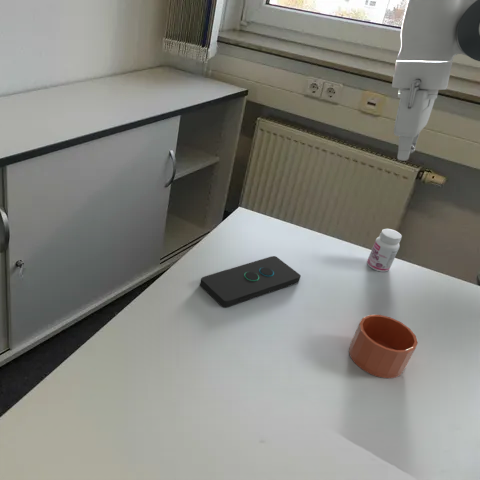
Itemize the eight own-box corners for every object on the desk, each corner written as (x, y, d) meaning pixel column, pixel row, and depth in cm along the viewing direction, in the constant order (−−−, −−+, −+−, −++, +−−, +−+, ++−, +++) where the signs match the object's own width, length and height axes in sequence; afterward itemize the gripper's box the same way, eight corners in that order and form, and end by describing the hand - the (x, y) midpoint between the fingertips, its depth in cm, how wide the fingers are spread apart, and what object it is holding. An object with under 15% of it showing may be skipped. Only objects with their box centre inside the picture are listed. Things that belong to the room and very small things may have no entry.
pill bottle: (362, 263, 118) (375, 231, 113) (373, 257, 120) (387, 225, 116) (381, 275, 115) (396, 242, 110) (393, 268, 117) (408, 235, 113)
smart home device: (303, 276, 109) (226, 301, 100) (300, 282, 110) (224, 309, 101) (274, 254, 115) (199, 276, 106) (272, 260, 116) (197, 283, 107)
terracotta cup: (409, 357, 94) (422, 331, 91) (396, 387, 88) (410, 360, 85) (357, 332, 98) (368, 307, 95) (341, 359, 92) (352, 333, 89)
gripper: (436, 81, 86) (419, 166, 91) (444, 77, 102) (429, 150, 107) (392, 79, 89) (378, 162, 94) (407, 76, 106) (394, 147, 110)
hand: (405, 155), depth 101 cm, fingers open, 8 cm apart
